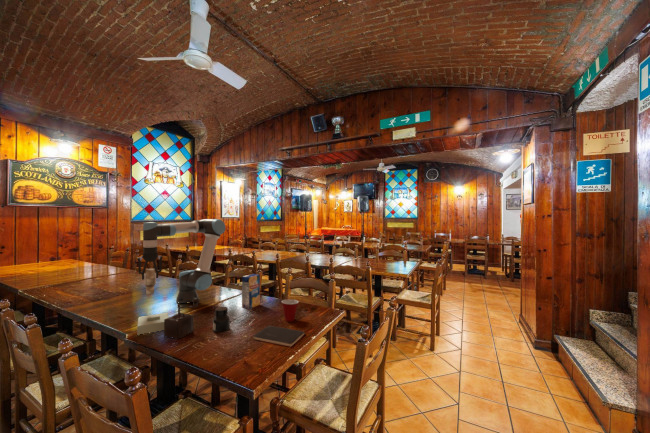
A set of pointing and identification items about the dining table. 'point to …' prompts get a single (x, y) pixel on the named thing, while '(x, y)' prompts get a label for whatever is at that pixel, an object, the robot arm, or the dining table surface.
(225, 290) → the dining table surface
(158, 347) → the dining table surface
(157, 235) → the robot arm
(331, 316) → the dining table surface
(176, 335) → the dark boxy piece
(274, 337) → the hardcover book
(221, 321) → the ink bottle
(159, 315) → the board
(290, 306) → the plastic cup
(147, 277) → the peg
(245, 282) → the blue yellow cereal box
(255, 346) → the dining table surface
